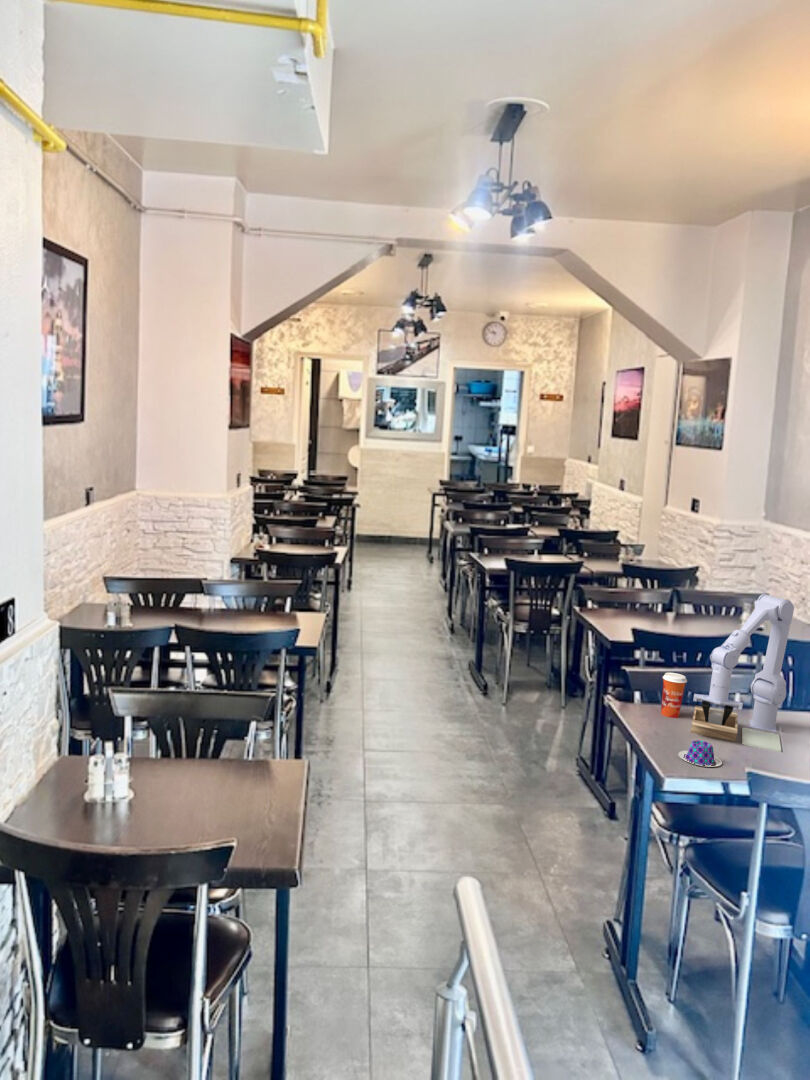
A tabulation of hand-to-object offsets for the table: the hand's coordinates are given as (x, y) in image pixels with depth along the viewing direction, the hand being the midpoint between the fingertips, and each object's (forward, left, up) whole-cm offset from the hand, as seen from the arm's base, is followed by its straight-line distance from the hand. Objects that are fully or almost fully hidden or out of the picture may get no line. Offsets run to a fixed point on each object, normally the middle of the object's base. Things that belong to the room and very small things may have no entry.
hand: (714, 726), depth 274 cm
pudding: (+28, -3, -3) cm, 28 cm away
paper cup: (-9, -14, -2) cm, 17 cm away
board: (-1, +14, -2) cm, 14 cm away
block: (-1, 0, -2) cm, 2 cm away
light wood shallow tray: (-1, 0, -2) cm, 2 cm away
